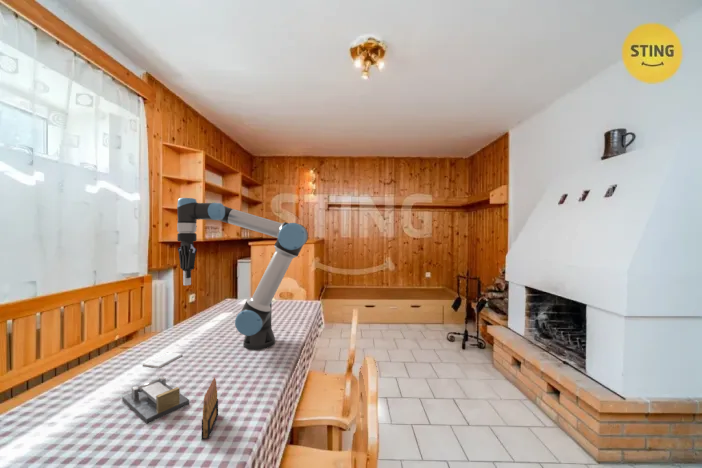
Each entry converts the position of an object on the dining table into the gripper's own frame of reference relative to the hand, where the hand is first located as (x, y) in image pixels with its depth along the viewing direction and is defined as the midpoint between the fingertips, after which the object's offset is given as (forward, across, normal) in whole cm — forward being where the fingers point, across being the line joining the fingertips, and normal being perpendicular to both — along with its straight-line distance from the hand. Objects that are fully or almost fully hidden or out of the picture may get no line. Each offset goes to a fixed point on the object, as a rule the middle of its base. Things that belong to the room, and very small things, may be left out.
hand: (187, 284), depth 131 cm
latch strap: (+28, -23, +23) cm, 44 cm away
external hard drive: (+33, +4, +8) cm, 34 cm away
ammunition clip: (+33, -54, +19) cm, 66 cm away
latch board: (+32, -28, +23) cm, 49 cm away
